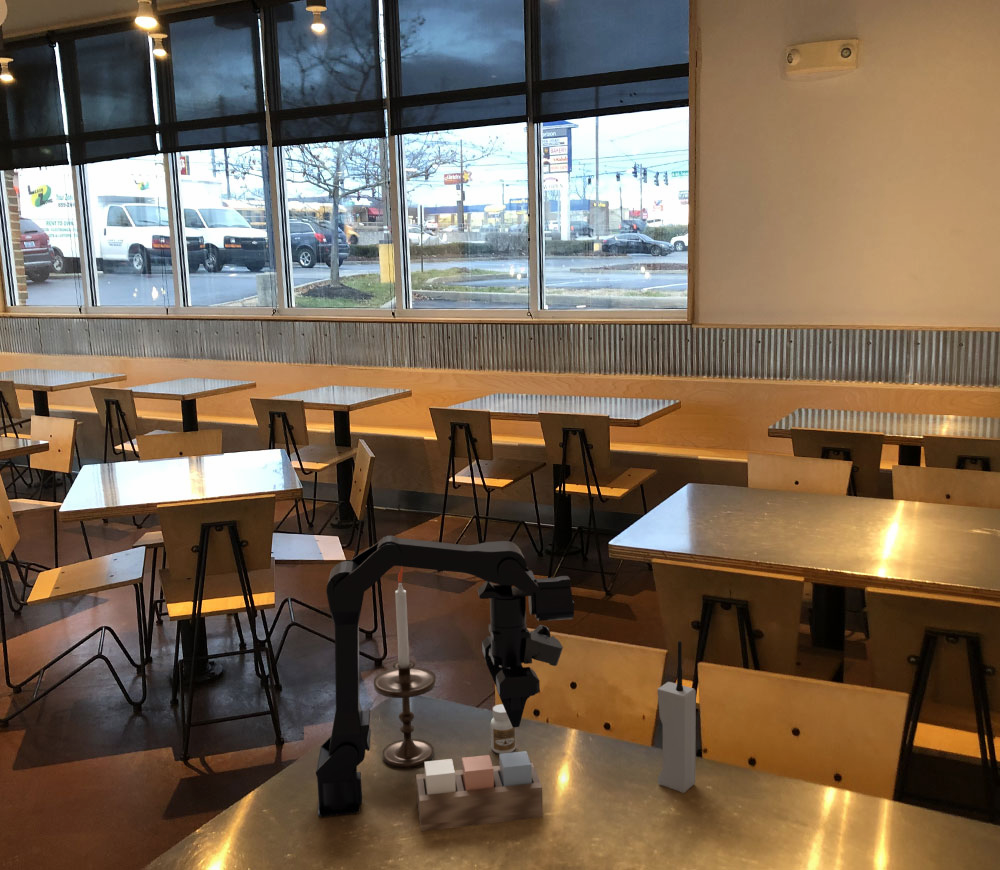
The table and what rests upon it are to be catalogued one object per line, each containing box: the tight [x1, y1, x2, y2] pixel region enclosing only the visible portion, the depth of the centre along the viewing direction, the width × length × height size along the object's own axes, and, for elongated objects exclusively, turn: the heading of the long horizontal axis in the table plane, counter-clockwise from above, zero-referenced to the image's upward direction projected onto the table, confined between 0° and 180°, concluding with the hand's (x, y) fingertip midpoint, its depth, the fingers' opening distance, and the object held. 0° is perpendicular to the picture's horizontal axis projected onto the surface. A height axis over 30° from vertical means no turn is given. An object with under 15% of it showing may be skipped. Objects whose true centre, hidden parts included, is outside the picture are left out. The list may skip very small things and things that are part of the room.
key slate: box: [498, 750, 532, 787], centre depth 149 cm, size 4×4×4 cm
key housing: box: [415, 761, 544, 832], centre depth 148 cm, size 19×8×5 cm, turn 99°
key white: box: [423, 758, 456, 795], centre depth 147 cm, size 4×4×4 cm
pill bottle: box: [490, 703, 517, 755], centre depth 168 cm, size 4×4×8 cm
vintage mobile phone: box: [657, 640, 697, 794], centre depth 153 cm, size 4×5×25 cm
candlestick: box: [373, 566, 437, 770], centre depth 164 cm, size 11×11×35 cm
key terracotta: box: [461, 754, 494, 791], centre depth 148 cm, size 4×4×4 cm
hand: (510, 713), depth 152 cm, fingers open, 9 cm apart
